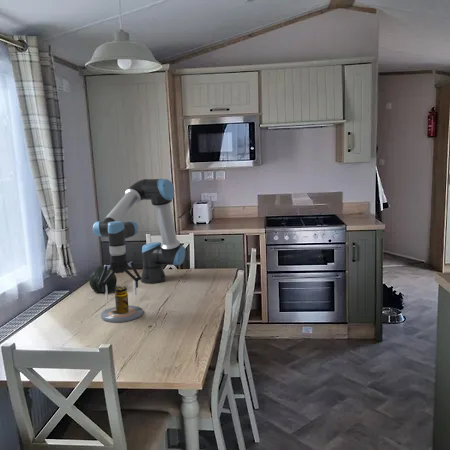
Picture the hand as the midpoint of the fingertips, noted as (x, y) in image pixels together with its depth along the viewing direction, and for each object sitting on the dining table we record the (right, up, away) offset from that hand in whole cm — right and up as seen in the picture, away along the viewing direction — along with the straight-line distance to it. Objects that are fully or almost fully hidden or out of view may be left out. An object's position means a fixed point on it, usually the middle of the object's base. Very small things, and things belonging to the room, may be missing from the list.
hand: (121, 296), depth 220 cm
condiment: (-1, -8, +1) cm, 8 cm away
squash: (-20, -3, +41) cm, 46 cm away
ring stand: (0, -9, +1) cm, 9 cm away
